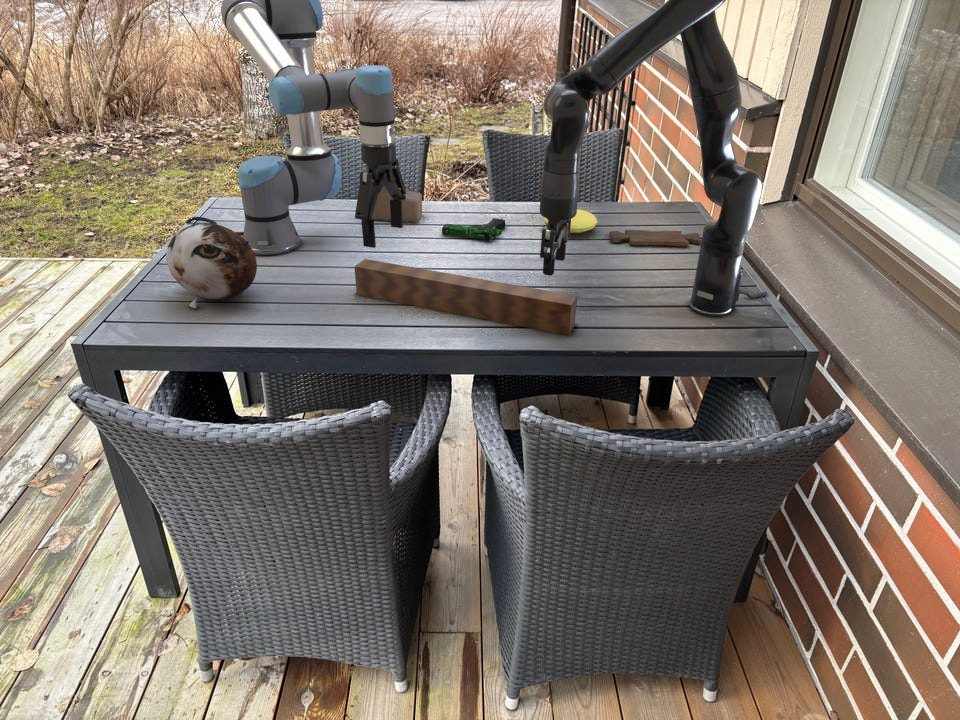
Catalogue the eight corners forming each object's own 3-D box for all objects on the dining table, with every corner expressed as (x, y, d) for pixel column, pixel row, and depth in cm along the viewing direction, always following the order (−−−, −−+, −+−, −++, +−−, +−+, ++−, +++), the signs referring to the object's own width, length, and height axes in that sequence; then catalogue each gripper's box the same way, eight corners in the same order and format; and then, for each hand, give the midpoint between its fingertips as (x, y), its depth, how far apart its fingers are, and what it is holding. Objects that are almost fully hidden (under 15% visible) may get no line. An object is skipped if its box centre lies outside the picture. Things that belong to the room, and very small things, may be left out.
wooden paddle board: (704, 248, 200) (696, 236, 208) (705, 243, 199) (697, 230, 207) (612, 245, 200) (607, 232, 208) (612, 239, 199) (608, 227, 208)
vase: (559, 216, 220) (561, 193, 217) (605, 227, 212) (608, 204, 209) (532, 230, 209) (533, 207, 206) (580, 242, 201) (582, 218, 198)
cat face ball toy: (130, 285, 161) (164, 203, 163) (192, 308, 177) (221, 233, 178) (195, 307, 151) (229, 220, 152) (254, 330, 166) (285, 250, 168)
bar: (356, 294, 171) (354, 266, 167) (366, 286, 175) (364, 258, 171) (568, 335, 155) (571, 305, 151) (574, 325, 159) (577, 295, 155)
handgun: (511, 219, 210) (493, 234, 198) (511, 228, 211) (492, 244, 199) (461, 212, 215) (440, 226, 203) (461, 221, 217) (440, 236, 204)
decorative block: (417, 223, 213) (414, 119, 198) (368, 220, 215) (361, 117, 199) (422, 214, 220) (419, 113, 204) (375, 212, 221) (368, 111, 206)
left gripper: (365, 159, 143) (372, 257, 154) (418, 132, 164) (421, 221, 174) (332, 155, 146) (342, 252, 156) (389, 129, 166) (393, 217, 177)
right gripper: (568, 205, 136) (562, 282, 144) (586, 184, 148) (579, 257, 156) (530, 200, 138) (526, 276, 147) (551, 180, 150) (546, 252, 158)
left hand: (383, 236), depth 165 cm, fingers open, 13 cm apart
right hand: (554, 266), depth 151 cm, fingers open, 8 cm apart
